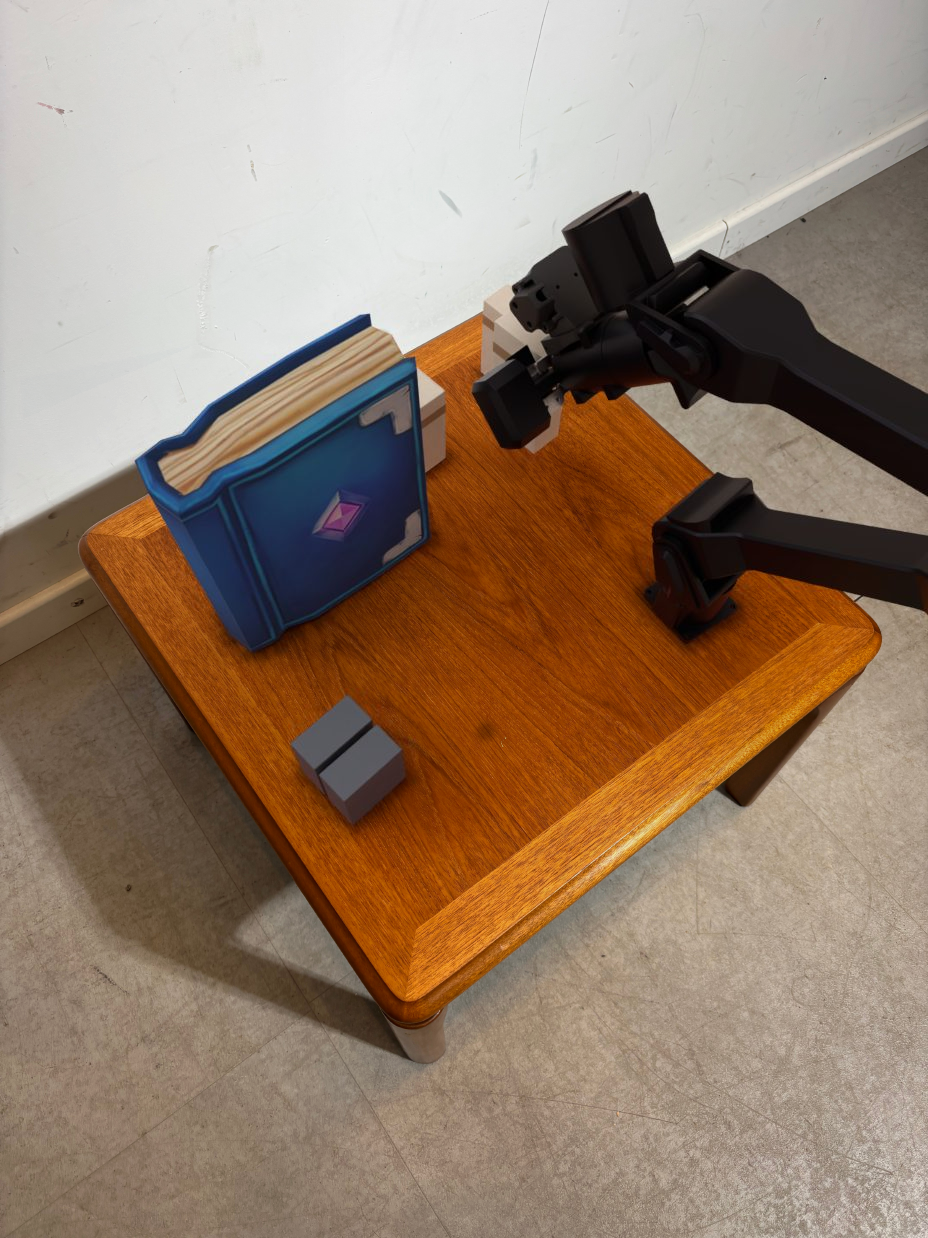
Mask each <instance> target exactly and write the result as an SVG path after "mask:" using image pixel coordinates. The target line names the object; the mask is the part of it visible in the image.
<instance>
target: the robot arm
mask: <svg viewBox="0 0 928 1238" xmlns="http://www.w3.org/2000/svg"><path fill="white" fill-rule="evenodd" d="M657 221H658V220H657V217H656V212H655V209H654V206H653V204H652V200H651V198H650V195H649V193H647V192H645V191H644V192H641V193H640V191H639V190H636V191H633V190H632V189H629V190H626V191H624V192H621V193H620V194H617V195H615V196H614V197H611V198H610V199H607V200H606V201H604V202H602V203H600V204H597V206H595V207H593V208H591V209H589V210H588V211H586V212H584V213H583V214H581V215H580V216H578V217H576V218H575V219H574V220H572V221H571V222H569V223H568V224H567V225H565V226H564V227H563V228H562V229H561V230H560V231H561V234H562V236H563V238H564V240H565V243H566V245H562V246H560V247H558V248H556V249H555V250H554V251H552V252H551V253H549V254H547V255H546V256H545V257H543V258H542V259H540V260H539V261H537V262H536V263H535V264H533V265H532V267H531V268H530V269H529V271H528V272H527V274H526V275H524V276H523V277H522V278H521V279H519V280H518V281H516V282H515V283H513V284H512V285H511V286H512V291H513V293H514V295H515V296H514V297H513V298H512V299H511V301H510V302H509V306H510V310H511V312H512V313H513V315H514V316H515V317H516V319H517V320H518V321H519V323H520V324H521V325H522V327H523V328H524V329H525V330H526V331H527V332H530V333H533V332H534V331H535V330H537V329H540V330H542V332H543V333H545V334H549V336H547V337H545V338H544V339H543V340H541V341H540V342H541V344H542V346H543V348H544V350H545V352H546V355H545V356H544V357H542V358H541V359H540V360H538V361H537V362H536V361H535V359H534V357H533V355H532V353H531V351H530V349H529V347H528V345H526V346H524V347H523V348H521V349H520V350H519V351H517V352H516V353H514V354H513V355H512V356H510V357H509V358H507V359H506V361H505V362H504V363H502V364H500V365H498V366H496V367H495V368H494V369H492V370H491V371H489V372H488V373H487V374H485V375H484V374H483V375H482V376H481V377H480V378H478V379H476V380H475V381H474V382H473V383H472V389H471V395H472V397H473V398H474V400H475V403H476V404H477V406H478V408H479V411H481V414H482V415H483V417H484V419H485V421H486V423H487V425H488V427H489V428H490V430H491V432H492V434H493V436H494V437H495V440H496V442H497V444H498V445H499V447H500V448H501V449H505V450H508V451H514V450H522V449H523V448H525V447H524V446H526V445H527V444H528V443H530V442H531V441H532V440H533V439H535V438H536V437H537V436H539V435H540V434H541V433H543V432H544V431H545V430H547V429H548V428H549V427H550V422H551V414H553V413H554V412H555V411H557V410H558V409H559V408H560V407H562V408H563V405H564V404H565V395H566V394H567V393H569V392H570V394H571V396H572V398H573V401H574V403H575V404H576V405H584V404H586V403H587V402H588V401H590V400H591V399H593V398H594V397H595V396H596V395H597V394H599V393H603V394H604V395H605V397H606V400H607V401H617V400H618V399H619V398H620V397H622V396H623V395H624V394H626V393H627V392H628V391H629V390H631V389H633V388H638V387H639V388H640V387H647V386H654V385H661V384H670V385H671V386H672V389H673V391H674V394H675V396H676V399H677V401H678V403H679V405H680V407H681V409H683V410H689V409H690V408H691V407H693V406H694V405H695V404H696V403H697V402H699V401H700V400H701V399H702V398H704V397H705V396H706V395H708V394H710V395H713V396H714V397H717V398H719V399H722V400H724V401H726V402H729V403H732V404H745V405H746V404H747V405H764V406H765V405H767V406H770V407H772V408H775V409H777V410H780V411H782V412H784V413H786V414H788V415H789V416H791V417H793V418H794V419H796V420H798V421H799V422H801V423H803V424H805V425H807V427H810V428H811V429H813V430H814V431H816V432H818V433H820V434H821V435H823V436H825V437H826V438H828V439H829V440H831V441H833V442H835V443H836V444H838V445H840V446H841V447H843V448H845V449H846V450H847V451H849V452H851V453H853V454H855V455H857V456H858V457H860V458H862V459H863V460H865V461H867V462H868V463H870V464H872V465H874V466H875V467H877V468H878V469H880V470H882V471H883V472H885V473H886V474H888V475H890V476H892V477H894V478H895V479H897V480H898V481H900V482H902V483H903V484H905V485H907V486H908V487H910V488H912V489H914V490H915V491H917V492H918V493H920V494H922V495H923V496H925V497H927V498H928V393H927V392H926V391H924V390H922V389H920V388H918V387H916V386H914V385H913V384H911V383H909V382H907V381H905V380H903V379H901V378H900V377H898V376H896V375H894V374H893V373H890V372H888V371H886V370H885V369H883V368H881V367H879V366H877V365H876V364H874V363H872V362H870V361H869V360H866V359H865V358H863V357H861V356H859V355H857V354H855V353H853V352H851V351H849V350H848V349H846V348H845V347H842V346H840V345H839V344H837V343H835V342H833V341H831V340H830V339H829V338H827V337H826V336H825V335H824V334H823V333H820V331H818V330H817V327H816V326H815V323H814V322H813V320H812V318H811V316H810V314H809V311H808V310H807V308H806V306H805V305H804V303H803V302H801V300H800V299H798V298H797V297H795V296H794V295H793V294H791V293H790V292H788V291H787V290H785V289H784V288H783V287H782V286H780V285H779V284H777V283H776V282H775V281H773V279H771V278H770V277H768V276H766V275H765V274H764V273H762V272H758V271H756V270H753V269H750V268H741V267H738V266H737V265H734V264H732V263H731V262H729V261H726V260H724V259H722V258H720V257H718V256H716V255H714V254H712V253H710V252H708V251H706V250H703V249H702V248H699V249H697V250H696V251H695V252H693V253H692V254H690V255H689V256H688V257H686V258H685V259H683V260H679V261H676V262H674V261H673V259H672V256H671V253H670V251H669V249H668V246H667V244H666V241H665V239H664V237H663V234H662V232H661V230H660V227H659V224H658V222H657ZM705 288H707V289H706V291H704V292H703V293H702V294H701V295H699V296H697V297H696V298H695V299H694V300H692V301H690V303H688V304H687V303H685V302H687V301H689V300H690V299H691V298H693V297H694V296H695V295H697V293H699V292H700V291H701V290H703V289H705ZM549 367H552V368H550V369H549ZM548 369H549V370H548ZM558 383H559V384H558ZM555 387H556V389H553V388H555ZM552 389H553V390H552ZM651 538H652V544H651V549H652V560H653V569H654V570H653V571H654V579H655V581H656V582H654V583H652V584H651V585H649V586H647V587H646V588H645V589H644V590H643V593H642V596H643V597H644V598H645V600H646V601H647V602H648V603H649V605H651V607H652V610H653V611H654V613H656V615H657V616H658V617H659V619H660V620H661V621H662V622H663V623H664V625H666V627H668V628H669V629H671V630H672V631H673V632H674V633H675V634H676V635H677V637H678V638H679V639H680V640H681V641H682V642H683V643H685V644H689V643H691V642H693V641H694V640H697V638H699V637H701V636H702V635H703V634H705V633H707V632H708V631H710V630H711V629H713V628H714V627H716V626H717V625H719V624H721V623H722V622H724V621H725V620H727V619H728V618H729V617H731V616H733V615H734V614H736V613H737V612H738V609H739V605H738V604H737V603H736V602H735V601H734V599H732V597H731V596H730V595H731V593H732V591H733V590H734V588H735V586H736V584H737V582H738V580H739V579H740V578H741V577H742V576H743V575H744V574H745V573H746V572H749V571H752V572H758V573H764V574H768V575H772V576H776V577H780V578H785V579H789V580H792V581H797V582H802V583H804V584H808V585H809V584H810V585H813V586H818V587H823V588H827V589H829V590H834V591H839V592H843V593H848V594H852V595H856V596H860V597H863V598H869V599H873V600H876V601H881V602H884V603H888V604H889V603H890V604H894V605H898V606H902V607H906V608H910V609H915V610H918V611H921V612H924V613H925V614H926V615H927V616H928V534H922V533H916V532H910V531H904V530H897V529H892V528H887V527H880V526H874V525H867V524H863V523H862V524H861V523H856V522H850V521H844V520H839V519H838V520H837V519H832V518H826V517H821V516H815V515H808V514H803V513H796V512H790V511H789V512H788V511H784V510H778V509H773V508H769V507H768V506H767V505H766V503H765V502H764V501H763V500H762V499H761V497H759V495H758V494H757V492H755V490H754V482H753V480H752V479H751V478H750V477H748V476H747V477H745V476H744V477H732V476H730V475H729V476H728V475H725V474H724V473H721V472H720V471H716V472H715V473H714V474H713V475H711V476H710V477H708V478H705V479H703V480H702V481H701V482H699V483H698V485H696V486H695V487H694V488H693V489H691V490H690V491H689V492H688V493H687V494H686V495H685V496H683V497H682V498H681V499H680V500H679V501H678V502H676V504H674V505H673V506H671V508H669V509H668V510H667V511H666V512H665V513H663V515H661V516H659V518H658V519H656V520H655V522H654V523H653V525H652V526H651ZM648 593H649V594H648ZM731 607H732V608H731ZM687 637H688V638H687Z"/></svg>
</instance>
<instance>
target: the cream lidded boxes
mask: <svg viewBox="0 0 928 1238" xmlns="http://www.w3.org/2000/svg"><path fill="white" fill-rule="evenodd" d="M514 296H515V295H514V293H513V291H512V285H510V284H509V283H507V284H505V285H504V286H502V287H501V288H499V289H498V290H497V291H495V292H493V293H492V294H491V295H488V296H487V297H486V298H485V299H483V307H482V320H481V321H482V327H481V328H482V330H481V355H480V356H481V357H480V358H481V359H480V373H481V374H483V376H484V375H485V374H487V373H488V372H489V371H491V370H492V366H493V341H494V322H495V321H496V320H497V319H498V318H500V317H501V316H503V315H504V314H506V313H507V312H509V311H510V306H509V302H510V301H511V299H512V298H513V297H514ZM404 358H406V356H404ZM417 376H418V388H419V400H420V413H421V425H422V437H423V449H424V462H425V474H426V473H427V472H429V471H430V470H432V469H433V468H434V467H435V466H437V465H438V464H439V463H441V462H442V461H443V460H445V459H446V458H447V456H446V455H447V454H446V453H447V449H446V446H447V445H446V444H447V443H446V439H447V437H446V412H447V406H446V405H447V404H446V390H445V389H444V388H443V387H441V386H440V385H439V384H438V383H436V382H435V381H434V380H433V379H432V378H430V377H429V375H427V374H426V373H425V372H424V371H422V370H421V369H420V368H419V367H417Z"/></svg>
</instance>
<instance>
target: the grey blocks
mask: <svg viewBox="0 0 928 1238" xmlns="http://www.w3.org/2000/svg"><path fill="white" fill-rule="evenodd" d="M289 745H290V747H291V749H292V751H293V753H294V755H295V758H296V760H297V762H298V764H299V767H300V769H301V771H302V772H303V773H304V775H305V776H306V777H307V778H308V779H309V780H310V781H311V783H312V784H314V785H315V786H316V788H317V789H318V790H319V791H320V792H321V793H322V794H323V796H327V797H328V800H329V802H330V803H331V804H332V805H333V806H334V808H336V810H338V811H339V813H340V814H341V815H342V816H343V817H344V818H345V819H346V820H347V821H348V822H349V823H350V825H352V826H354V825H355V824H357V822H359V821H360V820H361V819H362V818H363V817H364V816H365V815H366V814H368V812H370V811H371V810H372V809H373V808H374V807H375V806H376V805H377V804H378V803H380V802H381V801H382V800H383V799H384V798H385V797H386V796H387V795H389V794H390V793H391V791H393V790H394V789H395V788H396V787H397V786H398V785H399V784H401V782H402V781H404V780H405V778H407V775H406V774H407V773H406V768H405V759H404V754H403V748H402V747H400V746H399V745H398V744H397V743H396V742H395V740H394V739H392V738H391V737H390V735H388V733H387V732H386V731H384V729H382V727H381V726H379V724H375V725H374V722H373V718H372V717H371V716H370V715H369V714H368V713H367V712H366V711H365V710H364V709H363V708H362V707H361V706H360V705H359V704H358V703H357V702H356V700H354V699H353V698H352V697H351V696H350V694H346V695H345V696H344V697H343V698H342V699H341V700H340V701H338V702H337V703H336V704H335V705H333V706H332V707H331V708H330V709H329V710H328V711H326V712H325V713H324V714H323V715H321V716H320V718H318V719H317V720H316V721H314V723H312V724H311V725H310V726H309V727H308V728H307V729H305V730H304V731H303V732H302V733H300V734H299V735H298V736H297V737H296V738H295V739H293V740H292V741H291V742H290V743H289Z"/></svg>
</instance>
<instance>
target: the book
mask: <svg viewBox="0 0 928 1238" xmlns="http://www.w3.org/2000/svg"><path fill="white" fill-rule="evenodd" d="M402 352H403V351H401V349H400V347H399V345H398V343H397V341H396V339H395V337H394V336H393V334H391V333H389V332H387V331H384V330H381V329H379V328H377V327H375V326H373V323H372V318H371V313H364V314H363V313H362V314H358V315H357V316H355V317H353V318H351V319H349V320H348V321H346V322H344V323H342V324H341V325H339V326H337V327H335V328H333V329H332V330H330V331H328V332H326V333H325V334H322V335H321V336H319V337H318V338H315V339H313V340H312V341H310V342H309V343H306V344H305V345H303V346H301V347H299V348H297V349H296V350H293V351H292V352H290V353H289V354H287V355H285V356H283V357H282V358H280V359H279V360H277V361H275V362H274V363H272V364H271V365H269V366H267V367H266V368H265V369H263V370H261V371H259V372H258V373H256V374H254V375H253V376H251V377H250V378H249V379H247V380H245V381H244V382H242V383H240V384H239V385H237V386H236V387H234V388H233V389H231V390H229V391H227V392H226V393H224V394H223V395H221V396H219V397H218V398H216V399H214V400H213V401H212V402H210V403H209V404H207V405H206V406H205V407H204V409H202V410H201V412H200V413H198V415H197V416H196V417H195V418H194V420H192V422H190V424H189V425H188V426H187V428H185V429H184V430H183V431H182V432H181V433H179V434H176V435H172V436H169V437H166V438H163V439H160V440H159V441H157V442H156V443H155V444H153V445H152V446H151V447H150V448H149V449H147V450H145V452H143V453H142V454H141V455H140V456H138V457H137V458H136V459H134V464H135V466H136V468H137V470H138V473H139V475H140V477H141V479H142V482H143V484H144V486H145V489H146V492H147V493H148V495H149V497H150V499H151V500H152V502H153V504H154V506H155V508H156V509H157V512H158V513H159V515H160V516H161V518H162V519H163V521H164V524H165V525H166V527H167V528H168V530H169V532H170V534H171V536H172V538H173V539H174V541H175V543H176V545H177V546H178V547H179V550H180V551H181V553H182V554H183V556H184V558H185V560H186V562H187V564H188V565H189V567H190V568H191V570H192V572H193V574H194V576H195V577H196V579H197V581H198V583H199V585H200V586H201V588H202V590H203V591H204V593H205V595H206V597H207V598H208V601H209V602H210V604H211V605H212V607H213V609H214V611H215V612H216V614H217V616H218V618H219V620H220V621H221V623H222V625H223V626H224V628H225V630H226V632H227V634H228V635H229V636H230V637H231V638H233V639H234V640H235V641H236V642H238V643H239V644H240V645H242V647H244V648H246V649H247V650H248V651H249V652H250V653H252V654H254V653H255V652H256V653H257V652H258V651H260V650H262V649H263V648H265V647H267V646H269V645H271V644H274V643H276V642H277V641H278V640H279V639H280V638H281V636H282V635H283V634H284V633H285V632H286V630H287V629H288V628H292V627H294V626H297V625H300V624H303V623H306V622H309V621H312V620H315V619H317V618H319V617H320V616H322V615H323V614H325V613H326V612H328V611H329V610H331V609H332V608H334V607H335V606H336V605H338V604H340V603H342V602H343V601H344V600H346V599H347V598H349V597H350V596H352V595H353V594H355V593H356V592H358V591H359V590H361V589H362V588H364V587H365V586H367V585H369V584H370V583H372V582H373V581H374V580H376V579H378V578H380V576H382V575H383V574H384V573H386V572H387V571H388V570H390V569H391V568H392V567H394V566H395V565H397V564H398V563H399V562H401V561H402V560H404V559H406V557H408V556H409V555H411V554H412V553H414V552H415V551H416V550H417V549H419V548H421V546H423V545H425V544H426V543H427V542H428V541H430V540H431V539H432V537H431V524H430V512H429V511H430V510H429V501H428V499H429V498H428V487H427V476H426V473H425V462H424V449H423V437H422V425H421V413H420V400H419V388H418V376H417V368H418V367H417V359H416V356H410V357H405V356H404V354H403V353H402ZM404 357H405V358H404Z"/></svg>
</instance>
